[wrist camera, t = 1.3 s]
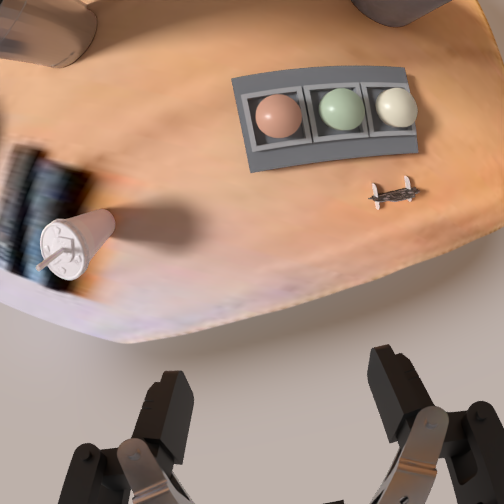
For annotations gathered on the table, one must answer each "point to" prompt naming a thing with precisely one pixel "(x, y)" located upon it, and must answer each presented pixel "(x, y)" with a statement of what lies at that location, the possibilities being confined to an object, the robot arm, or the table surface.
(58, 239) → the smoothie
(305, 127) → the console
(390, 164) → the table surface
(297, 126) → the terracotta button
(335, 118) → the sage button
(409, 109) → the cream button
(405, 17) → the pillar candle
